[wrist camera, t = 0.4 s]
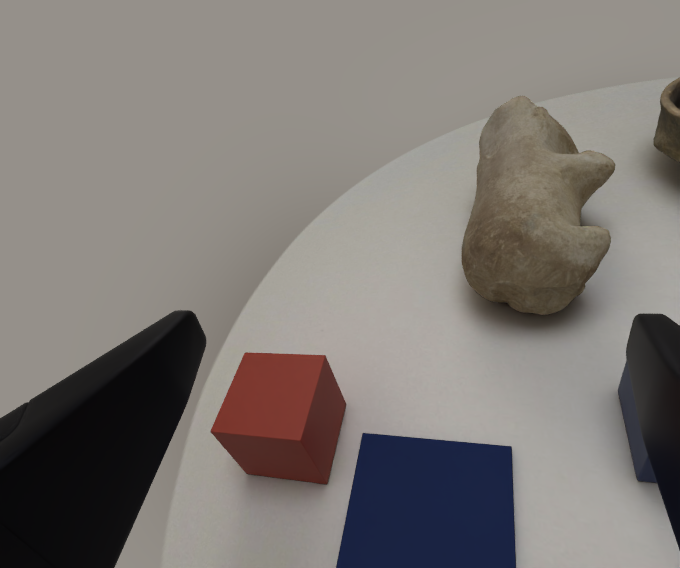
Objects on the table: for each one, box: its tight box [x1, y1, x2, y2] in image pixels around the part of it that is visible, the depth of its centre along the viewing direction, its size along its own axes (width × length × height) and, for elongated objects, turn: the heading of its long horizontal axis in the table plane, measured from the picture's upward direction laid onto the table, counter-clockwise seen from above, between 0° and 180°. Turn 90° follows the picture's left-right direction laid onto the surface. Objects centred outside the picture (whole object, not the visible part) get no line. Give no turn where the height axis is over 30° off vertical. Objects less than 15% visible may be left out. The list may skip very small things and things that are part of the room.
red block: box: [211, 353, 346, 484], centre depth 26 cm, size 5×5×5 cm
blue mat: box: [336, 433, 516, 568], centre depth 23 cm, size 8×8×1 cm
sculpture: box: [462, 96, 615, 315], centre depth 32 cm, size 9×17×10 cm
